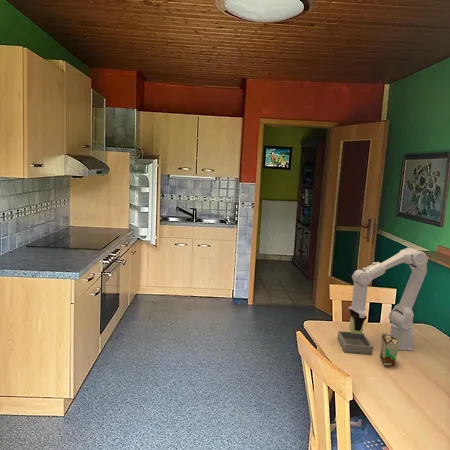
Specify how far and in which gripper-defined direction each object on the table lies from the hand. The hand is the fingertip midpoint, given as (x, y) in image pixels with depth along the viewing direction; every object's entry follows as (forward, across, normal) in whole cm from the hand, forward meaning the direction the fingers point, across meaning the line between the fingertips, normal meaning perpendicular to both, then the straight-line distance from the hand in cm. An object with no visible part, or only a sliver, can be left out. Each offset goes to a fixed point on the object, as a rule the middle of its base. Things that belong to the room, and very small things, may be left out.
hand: (356, 328), depth 187 cm
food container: (+9, +14, +11) cm, 20 cm away
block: (+2, 0, 0) cm, 2 cm away
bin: (+8, 0, 0) cm, 8 cm away
